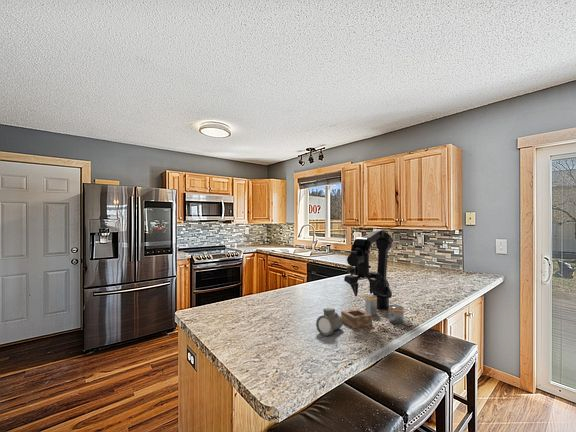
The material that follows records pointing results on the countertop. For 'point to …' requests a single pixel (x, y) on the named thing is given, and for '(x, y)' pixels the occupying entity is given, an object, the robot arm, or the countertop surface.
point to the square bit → (371, 304)
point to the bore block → (356, 318)
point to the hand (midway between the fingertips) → (363, 294)
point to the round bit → (396, 314)
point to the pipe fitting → (328, 322)
